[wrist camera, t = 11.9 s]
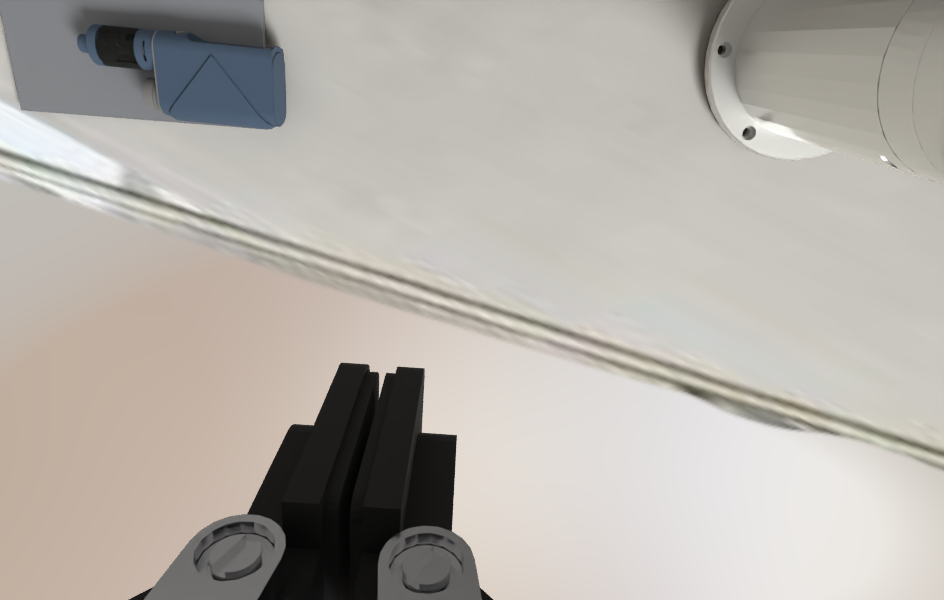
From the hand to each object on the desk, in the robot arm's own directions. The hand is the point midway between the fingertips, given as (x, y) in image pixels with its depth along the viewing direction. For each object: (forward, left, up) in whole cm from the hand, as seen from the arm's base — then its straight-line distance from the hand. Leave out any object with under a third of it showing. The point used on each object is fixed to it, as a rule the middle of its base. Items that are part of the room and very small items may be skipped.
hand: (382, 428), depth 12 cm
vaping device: (+10, -4, -29) cm, 31 cm away
